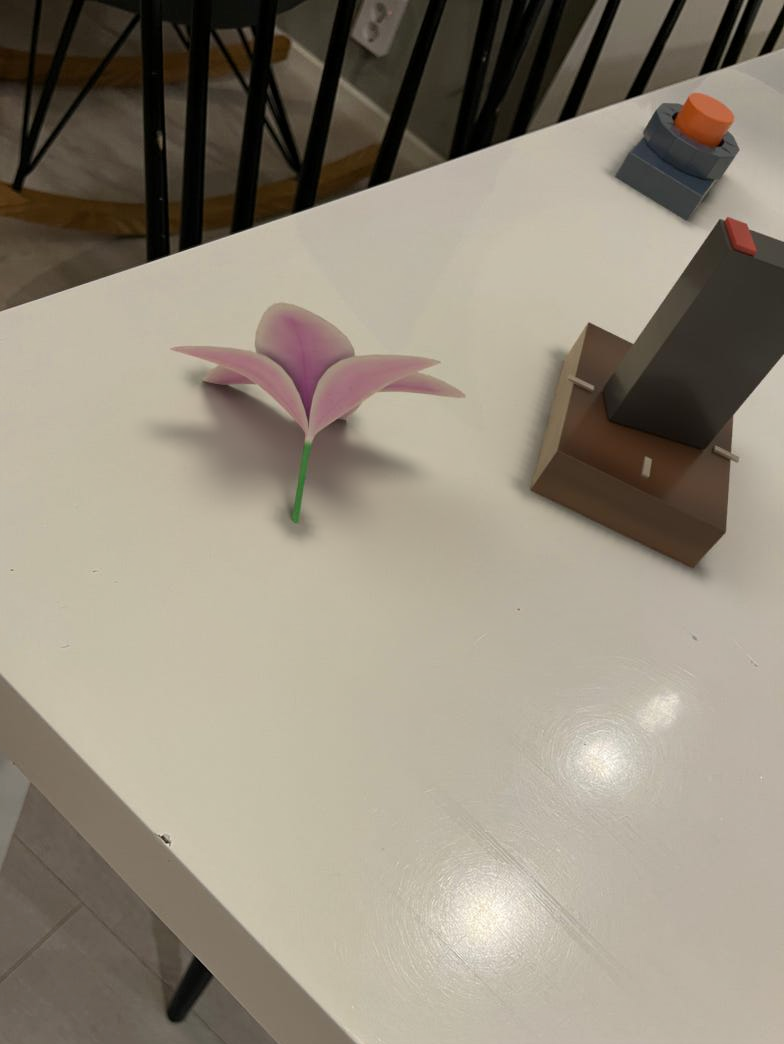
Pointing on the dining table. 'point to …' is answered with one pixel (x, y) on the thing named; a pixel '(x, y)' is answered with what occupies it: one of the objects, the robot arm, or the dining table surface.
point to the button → (704, 119)
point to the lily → (315, 372)
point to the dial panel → (629, 462)
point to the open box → (705, 340)
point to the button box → (675, 163)
